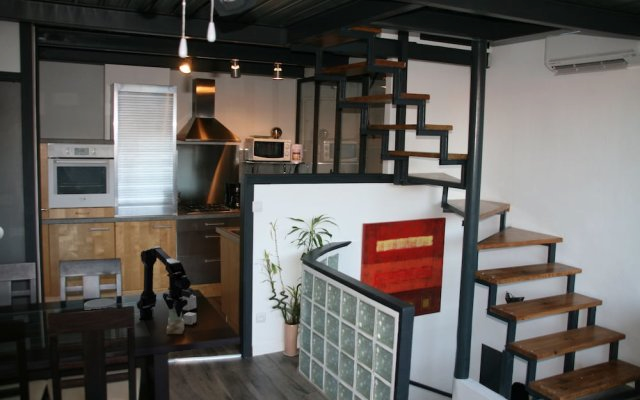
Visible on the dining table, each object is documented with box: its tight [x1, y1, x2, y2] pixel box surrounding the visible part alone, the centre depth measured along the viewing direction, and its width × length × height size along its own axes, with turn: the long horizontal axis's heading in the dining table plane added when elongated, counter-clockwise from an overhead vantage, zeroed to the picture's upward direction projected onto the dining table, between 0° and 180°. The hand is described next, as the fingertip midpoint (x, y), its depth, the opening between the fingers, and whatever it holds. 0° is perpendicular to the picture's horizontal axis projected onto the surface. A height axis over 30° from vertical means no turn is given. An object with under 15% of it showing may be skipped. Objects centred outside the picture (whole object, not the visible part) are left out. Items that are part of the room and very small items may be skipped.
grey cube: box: [182, 311, 197, 325], centre depth 322 cm, size 5×5×5 cm
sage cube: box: [168, 307, 183, 321], centre depth 307 cm, size 5×5×5 cm
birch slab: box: [167, 317, 185, 329], centre depth 307 cm, size 7×7×4 cm
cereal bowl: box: [83, 298, 117, 311], centre depth 333 cm, size 17×17×7 cm
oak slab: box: [166, 324, 185, 335], centre depth 308 cm, size 8×8×4 cm
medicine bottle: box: [179, 287, 197, 312], centre depth 346 cm, size 7×7×12 cm
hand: (175, 314), depth 307 cm, fingers open, 9 cm apart
